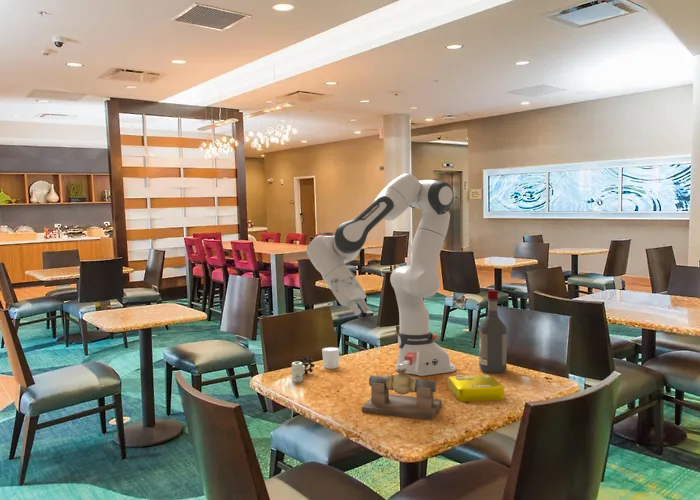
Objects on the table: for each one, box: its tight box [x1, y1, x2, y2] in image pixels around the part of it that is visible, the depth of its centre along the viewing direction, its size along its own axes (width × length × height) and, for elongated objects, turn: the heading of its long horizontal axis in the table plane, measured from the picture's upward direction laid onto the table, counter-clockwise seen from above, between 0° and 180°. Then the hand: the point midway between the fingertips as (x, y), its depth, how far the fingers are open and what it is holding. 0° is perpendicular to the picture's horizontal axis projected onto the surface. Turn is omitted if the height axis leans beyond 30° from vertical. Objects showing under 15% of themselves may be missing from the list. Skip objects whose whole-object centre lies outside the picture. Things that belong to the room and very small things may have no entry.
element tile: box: [448, 374, 505, 403], centre depth 180 cm, size 15×15×5 cm
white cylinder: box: [321, 346, 341, 370], centre depth 215 cm, size 7×7×7 cm
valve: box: [291, 355, 315, 383], centre depth 200 cm, size 7×7×12 cm
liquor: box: [478, 289, 508, 374], centre depth 207 cm, size 9×9×30 cm
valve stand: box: [361, 371, 443, 421], centre depth 167 cm, size 14×21×11 cm, turn 70°
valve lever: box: [396, 352, 417, 372], centre depth 172 cm, size 15×3×3 cm, turn 160°
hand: (363, 312), depth 182 cm, fingers open, 8 cm apart
